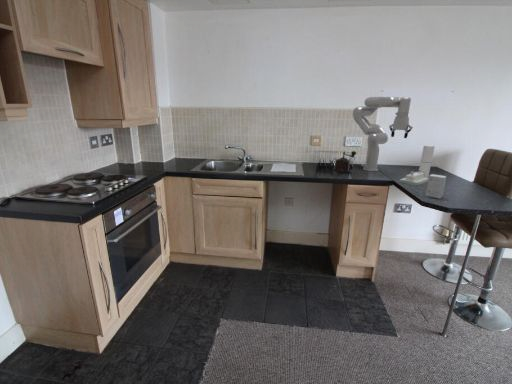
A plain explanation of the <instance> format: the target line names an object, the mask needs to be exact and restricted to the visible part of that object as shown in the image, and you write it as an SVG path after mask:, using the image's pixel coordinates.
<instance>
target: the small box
mask: <svg viewBox="0 0 512 384" xmlns="http://www.w3.org/2000/svg"><path fill="white" fill-rule="evenodd" d="M428 178H429V180H428V182H427V186H426V192H425V197H429V198H436V199H441V198H442V197H443V196H444V191H445V187H446V186H445V185H446V182H447V178H448V177H447V175H440V174H434V173H432V174H429V177H428Z"/></svg>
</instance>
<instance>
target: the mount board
mask: <svg viewBox="0 0 512 384" xmlns="http://www.w3.org/2000/svg"><path fill="white" fill-rule="evenodd" d="M421 171H422V170H421V169H419V168H418V171H417V172H418V173H420V174H421ZM413 173H415V171H410V174H411V176H413ZM405 179H406V177H403V178H400V179H399V183H403V184H408V185H412V186H420V185H423V184H425V183H428V180H429V177H428V178H421V179H418V180H416V181H413V182H412V181H407V180H405Z"/></svg>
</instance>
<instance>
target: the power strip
mask: <svg viewBox="0 0 512 384" xmlns="http://www.w3.org/2000/svg"><path fill="white" fill-rule="evenodd" d="M418 172H419V171H415V172H414V173H413V176H411V173H409V174H406V175H405V178H406V179H405V180H407V181H412V182H413V181H416V180H418V179H421V178H424V173H421V174H420V173H418Z"/></svg>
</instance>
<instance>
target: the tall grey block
mask: <svg viewBox="0 0 512 384" xmlns="http://www.w3.org/2000/svg"><path fill="white" fill-rule="evenodd" d="M435 147H436V146H435V145H429V144H423V149H422V153H421V159H420V164H419V168H418V170H419V169H421V170H422V171H421V173H424V178H429V176H430V170H431V167H432V163H433V155H434V152H435Z"/></svg>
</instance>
